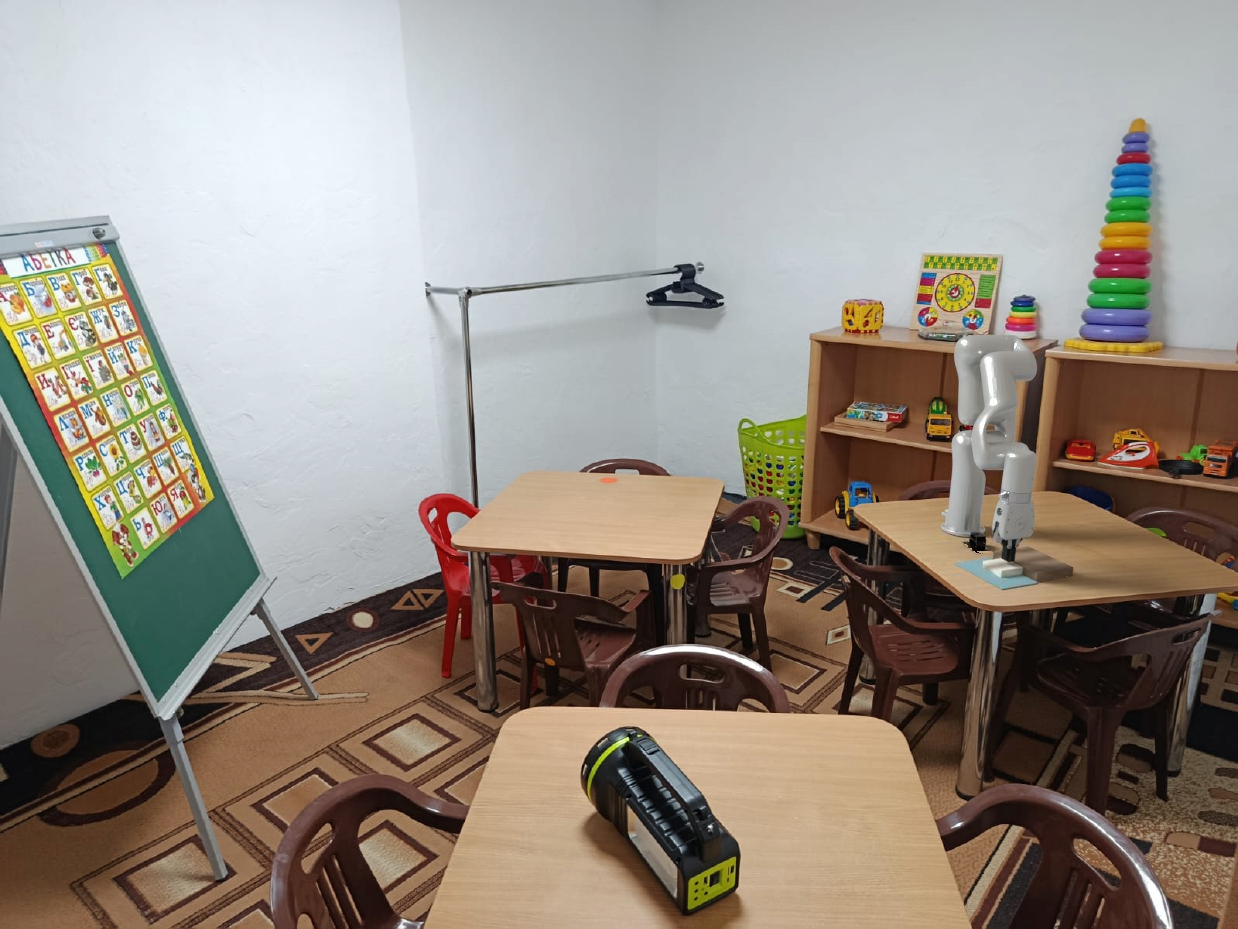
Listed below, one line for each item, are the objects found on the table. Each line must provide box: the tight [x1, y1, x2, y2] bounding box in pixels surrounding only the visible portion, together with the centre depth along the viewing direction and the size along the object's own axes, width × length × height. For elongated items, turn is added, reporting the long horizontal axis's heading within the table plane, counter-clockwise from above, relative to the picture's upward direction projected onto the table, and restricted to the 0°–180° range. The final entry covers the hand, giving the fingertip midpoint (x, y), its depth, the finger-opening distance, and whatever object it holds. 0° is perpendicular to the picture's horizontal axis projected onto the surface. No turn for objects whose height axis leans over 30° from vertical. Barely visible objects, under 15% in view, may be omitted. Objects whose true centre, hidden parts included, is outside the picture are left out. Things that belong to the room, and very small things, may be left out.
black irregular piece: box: [962, 532, 992, 555], centre depth 242 cm, size 12×7×5 cm, turn 5°
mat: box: [954, 557, 1039, 591], centre depth 224 cm, size 18×12×1 cm, turn 18°
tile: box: [982, 558, 1023, 577], centre depth 225 cm, size 7×7×2 cm
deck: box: [992, 545, 1074, 583], centre depth 227 cm, size 16×12×2 cm
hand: (1007, 560), depth 224 cm, fingers closed
